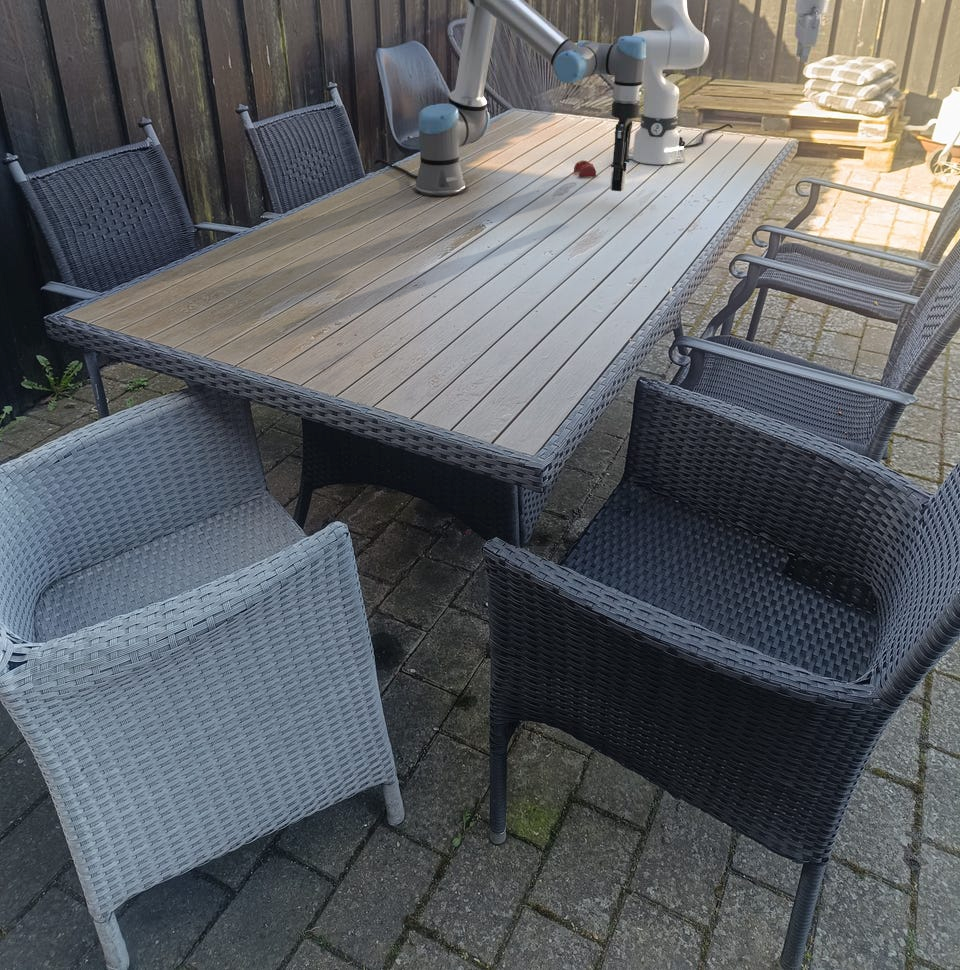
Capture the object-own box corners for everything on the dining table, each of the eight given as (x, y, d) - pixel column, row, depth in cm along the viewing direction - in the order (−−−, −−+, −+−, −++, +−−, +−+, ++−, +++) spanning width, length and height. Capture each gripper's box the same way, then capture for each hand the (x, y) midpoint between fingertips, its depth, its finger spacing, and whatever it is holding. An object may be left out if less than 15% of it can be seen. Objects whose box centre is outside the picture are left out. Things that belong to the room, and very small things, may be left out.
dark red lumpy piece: (589, 157, 273) (597, 163, 266) (588, 170, 275) (597, 177, 269) (572, 158, 272) (581, 165, 265) (572, 172, 274) (580, 179, 268)
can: (621, 192, 241) (623, 174, 238) (608, 189, 242) (609, 172, 239) (626, 188, 243) (628, 171, 241) (613, 186, 245) (614, 169, 242)
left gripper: (634, 108, 221) (625, 198, 235) (645, 95, 235) (635, 181, 248) (606, 106, 223) (598, 195, 237) (618, 93, 236) (610, 178, 250)
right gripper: (829, 10, 231) (817, 65, 239) (818, 1, 247) (807, 54, 255) (805, 9, 232) (794, 65, 240) (796, 1, 248) (786, 53, 256)
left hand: (617, 188), depth 243 cm, fingers closed on can, 4 cm apart
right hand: (801, 59), depth 248 cm, fingers open, 8 cm apart
